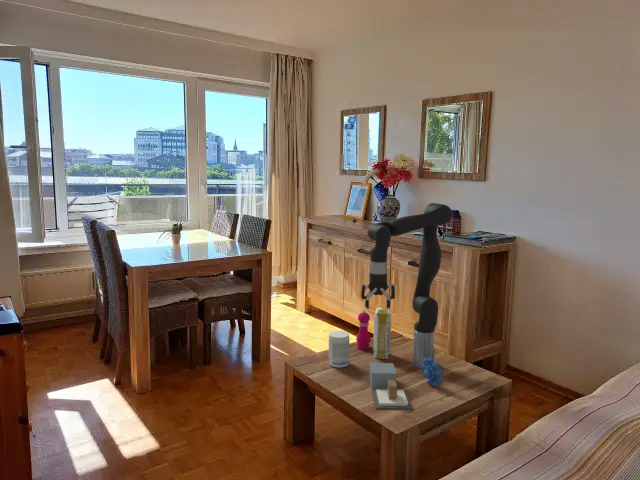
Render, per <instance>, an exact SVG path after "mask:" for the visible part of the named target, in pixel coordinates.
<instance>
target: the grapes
mask: <svg viewBox="0 0 640 480" xmlns="http://www.w3.org/2000/svg"><path fill="white" fill-rule="evenodd" d="M423 362H424V363H423V364H422V369H421V370H423V377H424V378H425V379H427V384H429V385H431V386H434V387H435V388H439V386H440V385H442V384H443V381H444V379H443V378H442V377H443V371H442V369H440V363H439V362H438V361H436V360H435V358H434V359H433V358H432V357H429V358H424V360H423Z"/></svg>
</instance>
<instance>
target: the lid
mask: <svg viewBox="0 0 640 480" xmlns="http://www.w3.org/2000/svg"><path fill="white" fill-rule="evenodd" d="M375 390H376V393H377V397H378V401H379V406H408V402H407V399H406V396H405V393H404V390H405V389H398V385H397V380H396V381H395V380H388V384H387V389H375Z"/></svg>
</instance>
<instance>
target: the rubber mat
mask: <svg viewBox="0 0 640 480" xmlns="http://www.w3.org/2000/svg"><path fill="white" fill-rule="evenodd" d="M403 390H404V393H405V396H406V399H407V402H408V406H379V401H378V397H377V393H376V389H372V390H371V392H372V398H373V402H374V407H375V410H406V411H407V410H412V411H413V406H412V403H411V400H410V397H409V394H408V391H407V390H405V389H403Z"/></svg>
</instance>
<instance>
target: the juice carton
mask: <svg viewBox="0 0 640 480" xmlns="http://www.w3.org/2000/svg"><path fill="white" fill-rule="evenodd" d="M391 319H392V315H391V310H390V308H389V309H387V308H383V307H376V309H375V311H374V319H373V320H374V321H373V343H372V344H373V345H372V346H373V347H372V350H373V357H374V359H377V360H378V359H380V360H388V359H389V356H390V350H391V349H390V347H391V327H392V325H391V323H392V320H391Z"/></svg>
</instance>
